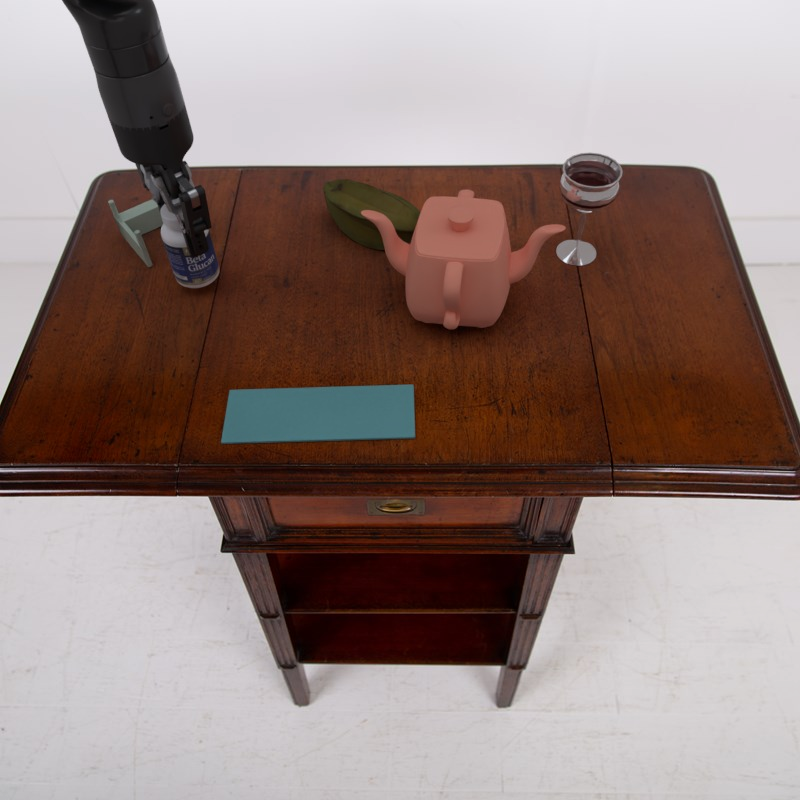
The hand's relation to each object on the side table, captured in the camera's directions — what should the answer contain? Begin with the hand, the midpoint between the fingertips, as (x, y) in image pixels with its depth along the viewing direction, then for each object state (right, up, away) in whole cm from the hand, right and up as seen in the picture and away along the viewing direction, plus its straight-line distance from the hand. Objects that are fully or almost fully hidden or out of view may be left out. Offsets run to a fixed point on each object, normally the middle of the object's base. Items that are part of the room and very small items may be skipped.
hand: (187, 239), depth 88 cm
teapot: (+32, -7, +3) cm, 32 cm away
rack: (-6, +3, +11) cm, 13 cm away
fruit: (+21, +3, +11) cm, 24 cm away
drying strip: (+16, -20, -8) cm, 27 cm away
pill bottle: (0, -4, +4) cm, 6 cm away
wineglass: (+47, 0, +7) cm, 47 cm away
